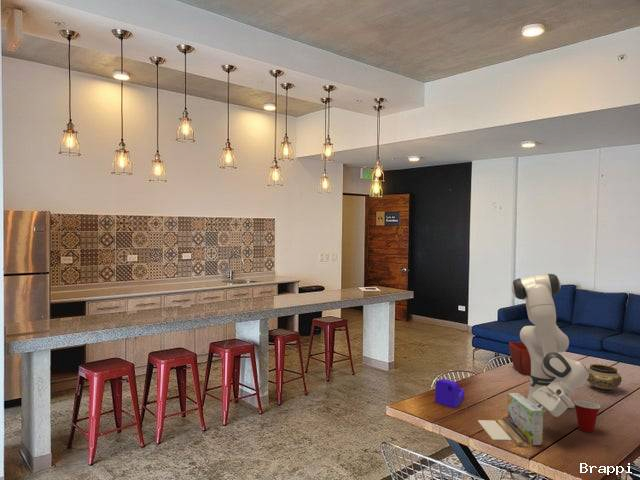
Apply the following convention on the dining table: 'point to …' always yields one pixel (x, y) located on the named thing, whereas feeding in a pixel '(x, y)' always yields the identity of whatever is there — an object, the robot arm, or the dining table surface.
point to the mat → (494, 430)
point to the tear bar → (512, 432)
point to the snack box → (526, 418)
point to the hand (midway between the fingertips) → (534, 413)
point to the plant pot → (520, 357)
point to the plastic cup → (586, 415)
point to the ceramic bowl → (603, 377)
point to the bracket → (448, 393)
